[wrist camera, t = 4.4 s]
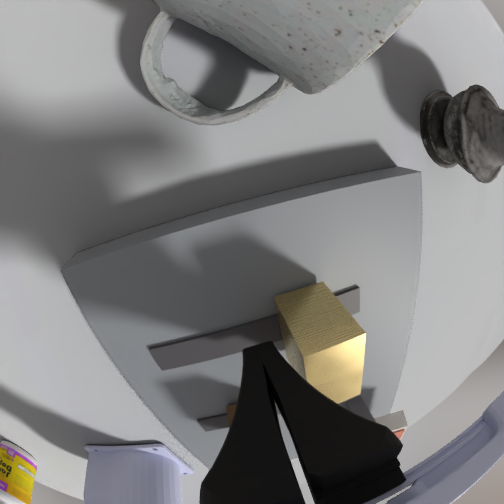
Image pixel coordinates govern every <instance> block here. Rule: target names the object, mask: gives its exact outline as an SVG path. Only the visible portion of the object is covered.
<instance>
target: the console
mask: <svg viewBox="0 0 504 504" xmlns="http://www.w3.org/2000/svg"><path fill="white" fill-rule="evenodd" d="M421 242H422V181H421V172H420V171H416V170H411V169H407V168H403V167H398V166H397V167H392V168H386V169H381V170H375V171H370V172H365V173H360V174H355V175H350V176H345V177H340V178H336V179H331V180H326V181H322V182H317V183H313V184H308V185H304V186H300V187H296V188H291V189H287V190H283V191H279V192H275V193H271V194H267V195H263V196H259V197H255V198H251V199H247V200H244V201H240V202H236V203H232V204H229V205H225V206H221V207H218V208H214V209H211V210H207V211H204V212H200V213H197V214H193V215H190V216H187V217H183V218H180V219H177V220H173V221H170V222H167V223H164V224H160V225H157V226H154V227H151V228H148V229H145V230H142V231H138V232H135V233H132V234H129V235H126V236H123V237H120V238H117V239H115V240H112V241H109V242H106V243H103V244H100V245H97V246H94V247H92V248H89V249H86V250H83V251H81V252H78V253H76V254H75V255H74V256H73V257H72V258H71V259H70V260H69V261H68V262H67V263H66V264H65V266H64V267H63V268H62V269H61V273H62V275H63V277H64V279H65V281H66V283H67V285H68V287H69V289H70V291H71V293H72V295H73V296H74V298H75V300H76V302H77V304H78V306H79V308H80V309H81V311H82V313H83V315H84V316H85V318H86V320H87V322H88V323H89V325H90V327H91V328H92V330H93V331H94V333H95V335H96V336H97V338H98V339H99V341H100V343H101V344H102V346H103V347H104V349H105V350H106V352H107V353H108V355H109V356H110V358H111V359H112V360H113V362H114V363H115V365H116V366H117V368H118V369H119V370H120V372H121V373H122V374H123V376H124V377H125V378H126V380H127V381H128V382H129V384H130V385H131V386H132V388H133V389H134V390H135V391H136V393H137V394H138V395H139V396H140V398H141V399H142V400H143V401H144V403H145V404H146V405H147V406H148V407H149V409H150V410H151V411H152V412H153V413H154V414H155V415H156V417H157V418H158V419H159V420H160V421H161V422H162V423H163V424H164V425H165V427H166V428H167V429H168V430H169V431H170V432H171V433H172V434H173V435H174V436H175V437H176V438H177V439H178V440H179V441H180V442H181V443H182V444H183V445H184V446H185V447H186V448H187V449H188V450H189V451H190V452H191V453H192V454H193V455H194V456H195V457H196V458H197V459H198V460H200V461H201V462H202V463H203V464H204V465H205V466H206V467H207V468H208V469H211V467H212V465H213V464H214V462H215V460H216V458H217V456H218V454H219V452H220V450H221V448H222V446H223V444H224V441H225V439H226V436H227V434H228V431H229V422H228V417H227V411H226V406H229V405H234V404H237V401H238V396H239V391H240V386H241V378H242V368H243V354H242V350H243V349H244V348H247V347H250V346H254V345H257V344H261V343H264V342H267V341H272V342H273V343H274V345H275V347H276V348H277V350H278V351H279V352H280V354H281V355H282V356H283V357H284V359H285V360H286V361H287V362H288V363H289V361H288V359H287V357H286V352H285V347H284V343H283V338H282V333H281V329H280V324H279V319H278V315H277V310H276V306H275V301H274V297H275V296H278V295H281V294H285V293H288V292H291V291H294V290H297V289H300V288H304V287H307V286H310V285H313V284H316V283H319V282H322V281H323V282H324V283H325V284H326V286H327V287H328V288H329V289H330V290H331V292H332V293H333V294H334V295H335V296H336V297H337V299H338V300H339V301H340V302H341V303H342V305H343V306H344V307H345V308H346V309H347V311H348V312H349V313H350V314H351V315H352V317H353V318H354V319H355V320H356V321H357V323H358V324H359V325H360V326H361V328H362V329H363V330H364V331H365V332H366V341H365V355H364V366H363V376H362V385H361V393H360V395H357V396H355V397H353V398H351V399H348V400H346V401H344V402H341V403H339V405H341V406H343V407H344V408H346V409H348V410H350V411H352V412H353V413H355V414H358V415H360V416H362V417H364V418H366V419H369V420H371V421H374V422H376V421H375V419H374V418H377V417H381V416H385V415H389V413H390V411H391V407H392V404H393V401H394V398H395V395H396V391H397V388H398V384H399V381H400V377H401V373H402V370H403V366H404V362H405V357H406V353H407V348H408V344H409V339H410V334H411V329H412V323H413V317H414V311H415V304H416V297H417V289H418V281H419V271H420V259H421ZM274 401H275V400H274ZM275 405H276V402H275ZM276 410H277V415H278V419H279V424H280V428H281V433H282V437H283V440H284V443H285V446H286V449H287V452H288V455H289V458H290V460H291V459H294V458H297V457H298V455H297V452H296V449H295V447H294V444H293V441H292V438H291V436H290V433H289V431H288V429H287V426H286V424H285V422H284V420H283V418H282V416H281V413H280V411H279V409H278V407H277V405H276Z"/></svg>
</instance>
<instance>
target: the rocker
mask: <svg viewBox="0 0 504 504" xmlns="http://www.w3.org/2000/svg"><path fill="white" fill-rule="evenodd" d="M374 419H375V421H376V423H379V424H382V425H384V426H387V427H388V428H389V429H390V430H391V431H392V432H393V433H394V434H395V435H396V436H397V437H398V438H399V440H401V438H402V436H403V434H404V432H405V430H406V428H407V426H408V425H407V422H406V418H405V415H404V412H403V410H402V411H399V412H396V413H392V414H389V415H385V416H381V417H377V418H374Z"/></svg>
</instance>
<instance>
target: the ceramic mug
mask: <svg viewBox="0 0 504 504" xmlns="http://www.w3.org/2000/svg"><path fill="white" fill-rule="evenodd" d="M152 1H153V2H154V3H156V4H157V5H158V6H159V8H160V11H159V14H158V15H157V16H156V17H155V18H154V19H153V21H152V23H151V25H150V27H149V28H148V29H147V33H146V36H145V38H144V40H143V43H142V49H141V56H140V67H141V72H142V75H143V79H144V81H145V83H146V86H147V88H148V90H149V92H150V93H151V94H152V95H153V96H154V98H155V99H156V100H157V101H158V102H159V103H160V104H161V105H162V106H163V107H165V108H166V109H167V110H169V111H171V112H172V113H174V114H175V115H177V116H178V117H180V118H182V119H185V120H188V121H190V122H193V123H196V124H199V125H221V124H226V123H230V122H234V121H237V120H241V119H243V118H246V117H248V116H250V115H252V114H254V113H256V112H258V111H259V110H261V109H262V108H264V107H266V106H267V105H268V104H270V103H271V102H272V101H273V100H274V99H276V98H277V97H278V96H280V95H281V94H282V93H283V92H284V91H285V90H286V89H287V88H288V87H290V86H294V87H295V88H297V89H298V90H300V91H302V92H303V93H306V94H316V93H320V92H322V91H324V90H326V89H327V88H329V87H330V86H331V85H333V84H336V83H337V82H339V81H340V80H341V79H343V78H344V77H345V76H346V75H348V74H349V73H350V72H351V71H353V70H354V69H355V68H357V67H358V66H359V65H360V64H361V63H362V62H363V61H364V60H366V59H368V58H369V57H370V56H371V55H372V54H373V53H374V52H375V51H376V50H377V49H378V48H380V47H381V46H382V45H383V44H384V43H385V42H386V41H387V39H388V38H389V37H390V36H392V35H393V34H394V33H395V32H396V31H397V30H398V29H399V28H400V27H401V26H402V25H403V24H404V23H405V22H406V21H407V20H408V19H409V18H410V17H411V16H412V15H413V13H414V12H415V10H416V9H417V8H418V6H419V5H420V4H421V2H422V1H423V0H152ZM177 18H179V19H182V20H184V21H186V22H189V23H190V24H192V25H194V26H196V27H198V28H200V29H202V30H204V31H206V32H208V33H209V34H211V35H216V36H218V37H220V38H222V39H223V40H225V41H227V42H229V43H231V44H232V45H234V46H235V47H237V48H238V49H240V50H241V51H242V52H244V53H245V54H247V55H248V56H250V57H252V58H253V59H255V60H257V61H258V62H259V63H261V64H263V65H264V66H266V67H267V68H269V69H270V70H272V71H274V72H275V73H276V74H278V76H279V78H278V80H277V82H276V83H275V84H274V85H273V86H271V87H270V88H269V89H268V90H267V91H265V92H264V93H263V94H261V95H260V96H259V97H257V98H256V99H254V100H252V101H251V102H249V103H247V104H245V105H243V106H241V107H237V108H234V109H231V110H224V111H219V110H216V109H211V108H208V107H206V106H205V105H203V104H202V103H201V102H199V101H197V100H196V99H194V98H193V97H191V96H189V95H188V94H187V93H185V92H184V91H183V90H182V89H180V88H179V87H178V86H177V84H176V82H175V80H173V79H171V78H165V77H164V74H163V72H162V67H161V59H160V56H161V50H162V48H163V42H164V40H165V38H166V36H167V33H168V31H169V29H170V27H171V25H172V24H173V22H174V21H175V20H176V19H177Z"/></svg>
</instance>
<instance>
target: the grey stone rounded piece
mask: <svg viewBox="0 0 504 504" xmlns="http://www.w3.org/2000/svg"><path fill="white" fill-rule="evenodd" d="M420 127H421V135H422V139H423V142H424V146H425V148H426V150H427V152H428V154H429V156H430V157H431V158H432V160H433V161H434V162H435V163H436V164H438V165H439V166H441V167H445V168H451V167H454V166H455V165H457V164H459V165H460V166H461V167H463V168H464V169H465V170H466V171H467V172H468V173H470V174H472V175H473V176H474V177H475V178H476V179H477V180H478V181H479V182H482V183H489V182H491V181H493V180H494V179H495V178H496V177H497V175H498V174H499V172H500V170H501V168H502V166H503V165H504V110H502V109H500V108H499V106H498V104H497V102H496V100H495V99H494V97H493V96H492V95H491V93H490V92H489V91H488V90H487V89H485V88H484V87H483V86H480V85H473V86H470V87H469V88H468V89H467V90H465V91H462V92H460V93H458V94H457V95H455V96H454V97H452V96H451V95H450V94H448V93H446V92H444V91H435V92H432V93H430V94H429V95H428V96H427V97H426V99H425V101H424V103H423V105H422V110H421V115H420Z"/></svg>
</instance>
